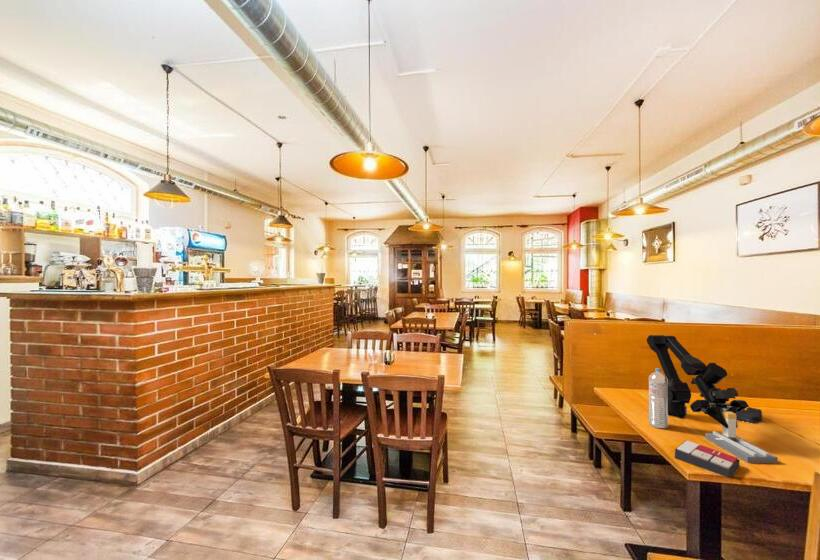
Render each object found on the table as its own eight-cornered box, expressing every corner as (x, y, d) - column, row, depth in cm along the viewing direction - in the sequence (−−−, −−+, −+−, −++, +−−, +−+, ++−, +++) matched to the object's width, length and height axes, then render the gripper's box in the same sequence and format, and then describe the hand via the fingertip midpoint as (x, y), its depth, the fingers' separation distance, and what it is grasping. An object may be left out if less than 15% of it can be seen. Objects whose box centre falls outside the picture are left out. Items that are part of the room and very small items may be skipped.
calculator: (730, 468, 110) (674, 446, 122) (729, 480, 110) (674, 458, 123) (740, 457, 116) (686, 438, 128) (739, 469, 116) (685, 449, 129)
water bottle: (671, 429, 144) (671, 371, 144) (653, 428, 146) (653, 370, 145) (663, 423, 151) (662, 366, 151) (645, 421, 152) (645, 366, 152)
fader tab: (721, 436, 133) (721, 411, 133) (729, 436, 133) (729, 411, 133) (728, 440, 130) (728, 414, 130) (736, 440, 130) (736, 414, 130)
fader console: (705, 438, 137) (705, 430, 137) (731, 438, 136) (731, 430, 136) (747, 462, 119) (747, 454, 119) (777, 463, 118) (777, 454, 118)
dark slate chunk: (703, 403, 174) (703, 394, 174) (764, 417, 156) (764, 407, 156) (694, 411, 165) (694, 401, 165) (759, 426, 147) (759, 415, 147)
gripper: (695, 379, 136) (719, 419, 125) (744, 379, 135) (772, 419, 124) (680, 392, 144) (702, 430, 133) (726, 392, 143) (752, 430, 132)
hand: (732, 427), depth 130 cm, fingers closed on fader tab, 3 cm apart
